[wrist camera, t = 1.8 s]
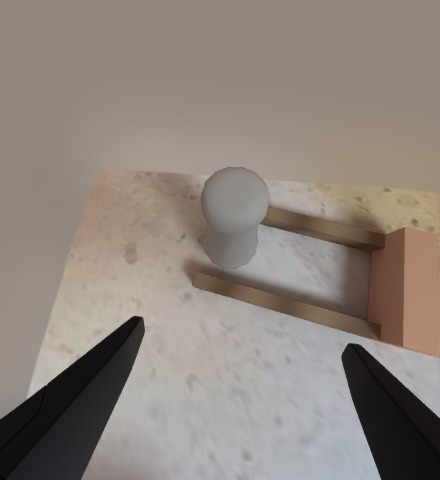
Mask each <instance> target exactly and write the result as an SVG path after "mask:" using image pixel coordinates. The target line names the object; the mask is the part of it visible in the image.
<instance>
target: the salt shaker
mask: <svg viewBox="0 0 440 480" xmlns="http://www.w3.org/2000/svg"><path fill="white" fill-rule="evenodd" d="M269 198H270V195H269V192H268V189H267V186H266V183H265V182H264V181H263V180H262V178H260V176H259V175H258V174H257V173H255V172H253V171H251V170H248V169H246V168H243V167H227V168H224V169H222V170H219V171H217V172H215V173H214V174H213V175H212V176H211V177H210V178H209V179H208V180H207V181H206V182H205V185H204V188H203V191H202V194H201V204H202V210H203V215H204V217H205V219H206V220H207V221H208V222H209V223H208V227H207V231H206V234H205V237H204V241H203V242H204V248H205V253H206V254H207V256H208V257H209V258H210V260H211V261H212V262H213V263H215V264H217V265H218V266H220V267H222V268H232V269H236V268H238V267H240V266H243V265H245V264H247V263H248V262H249V261H250V260H251V258H252V257H253V256H254V255H255V252H256V248H257V243H258V240H257V226H258V225H259V224H260V223H261V221H262V220H263V219H264V217H265V216H266V213H267V209H268V205H269Z"/></svg>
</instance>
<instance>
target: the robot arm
mask: <svg viewBox="0 0 440 480" xmlns="http://www.w3.org/2000/svg"><path fill="white" fill-rule="evenodd" d="M144 333H145V326H144V320H143V317H140V316H133V317H131V318H130V319H129V320H128V321H126V322H125V323H124V324H123V325H121V326H120V327H119V328H117V329H116V330H115V331H114V332H112V333H111V334H110V335H109V336H107V337H106V338H105V339H104V340H102V341H101V342H100V343H98V344H97V345H96V346H95V347H93V348H92V349H91V350H90V351H88V352H87V353H86V354H85V355H83V356H82V357H81V358H79V359H78V360H77V361H76V362H74V363H73V364H72V365H71V366H69V367H68V368H67V369H66V370H64V371H63V372H62V373H60V374H59V375H58V376H57V377H55V378H54V379H53V380H52V381H50V382H49V383H48V384H47V385H46V386H44V387H43V388H41V389H40V390H39V391H38V392H36V393H35V394H34V395H32V396H31V397H30V398H29V399H27V400H26V401H25V402H23V403H22V404H21V405H19V406H18V407H17V408H15V409H14V410H13V411H11V412H10V413H9V414H7V415H6V416H4V417H3V418H2V419H0V480H81V478H82V476H83V474H84V472H85V469H86V467H87V465H88V463H89V461H90V459H91V457H92V454H93V452H94V450H95V448H96V446H97V444H98V441H99V439H100V437H101V435H102V433H103V431H104V429H105V426H106V424H107V422H108V420H109V418H110V416H111V413H112V411H113V409H114V407H115V405H116V403H117V401H118V398H119V396H120V394H121V392H122V390H123V388H124V385H125V383H126V381H127V379H128V377H129V375H130V372H131V370H132V367H133V365H134V362H135V359H136V356H137V353H138V350H139V348H140V345H141V342H142V339H143V336H144ZM342 363H343V367H344V371H345V374H346V378H347V382H348V386H349V389H350V393H351V397H352V400H353V403H354V406H355V409H356V412H357V414H358V417H359V420H360V423H361V425H362V428H363V431H364V434H365V436H366V439H367V442H368V445H369V447H370V450H371V453H372V456H373V458H374V461H375V464H376V467H377V469H378V472H379V475H380V478H381V480H440V418H439V417H438V416H437V415H436V414H435V413H433V412H432V411H431V410H430V409H429V408H428V407H427V406H426V405H425V404H424V403H423V402H422V401H420V400H419V399H418V398H417V397H416V396H415V395H414V394H413V393H412V392H411V391H410V390H409V389H408V388H406V387H405V386H404V385H403V384H402V383H401V382H400V381H399V380H398V379H397V378H396V377H395V376H393V375H392V374H391V373H390V372H389V371H388V370H387V369H386V368H385V367H384V366H383V365H382V364H380V363H379V362H378V361H377V360H376V359H375V358H374V357H373V356H372V355H371V354H370V353H369V352H368V351H366V350H365V349H364V348H363V347H362V346H361V345H359V344H354V343H349V344H348V345H347V346H346V348H345V350H344V352H343V353H342Z"/></svg>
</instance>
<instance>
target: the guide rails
mask: <svg viewBox="0 0 440 480" xmlns="http://www.w3.org/2000/svg"><path fill="white" fill-rule="evenodd" d="M260 224H262V225H266V226H270V227H274V228H278V229H282V230H286V231H290V232H294V233H298V234H302V235H306V236H310V237H313V238H317V239H321V240H325V241H329V242H333V243H337V244H341V245H345V246H349V247H353V248H357V249H361V250H365V251H369V252H374V251H377V250H380V249H383V248H385V235H383V234H379V233H374V232H370V231H366V230H362V229H358V228H354V227H350V226H346V225H342V224H338V223H333V222H329V221H325V220H321V219H317V218H313V217H309V216H305V215H301V214H297V213H292V212H288V211H284V210H280V209H276V208H272V207H268V209H267V213H266V216H265V217H264V219H263V220H262V221H261V223H260ZM192 286H194V287H196V288H199V289H203V290H206V291H210V292H213V293H216V294H220V295H223V296H227V297H230V298H233V299H237V300H240V301H243V302H247V303H250V304H254V305H257V306H260V307H264V308H267V309H271V310H274V311H277V312H281V313H284V314H287V315H291V316H294V317H298V318H301V319H304V320H308V321H311V322H315V323H318V324H321V325H325V326H328V327H332V328H335V329H338V330H342V331H345V332H348V333H352V334H355V335H359V336H362V337H365V338H369V339H373V340H377V341H380V339H381V325H380V324H377V323H373V322H370V321H366V320H363V319H359V318H356V317H352V316H349V315H345V314H342V313H338V312H335V311H331V310H328V309H324V308H321V307H317V306H314V305H310V304H307V303H303V302H300V301H296V300H293V299H289V298H286V297H282V296H279V295H275V294H272V293H269V292H265V291H262V290H258V289H255V288H251V287H248V286H244V285H241V284H237V283H234V282H230V281H227V280H223V279H220V278H216V277H213V276H209V275H206V274H202V273H199V272H196V275H195V278H194V281H193V285H192Z"/></svg>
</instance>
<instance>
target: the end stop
mask: <svg viewBox="0 0 440 480" xmlns="http://www.w3.org/2000/svg"><path fill="white" fill-rule="evenodd" d="M367 321H370V322H373V323H377V324H380V325H381V339H380V341H379V342H382V343H386V344H389V345H392V346H396V347H400V348H404V349H407V350H411V351H415V352H419V353H423V354H427V355H431V356H434V357H438V358H440V286H439V257H438V235H436V234H432V233H428V232H424V231H420V230H415V229H411V228H407V227H404V228H401V229H399V230H397V231H394V232H392V233H389V234H387V235H385V248H383V249H380V250H377V251H374V252H372V255H371V270H370V285H369V301H368V316H367ZM372 340H373V339H372ZM376 341H377V340H376Z"/></svg>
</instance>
